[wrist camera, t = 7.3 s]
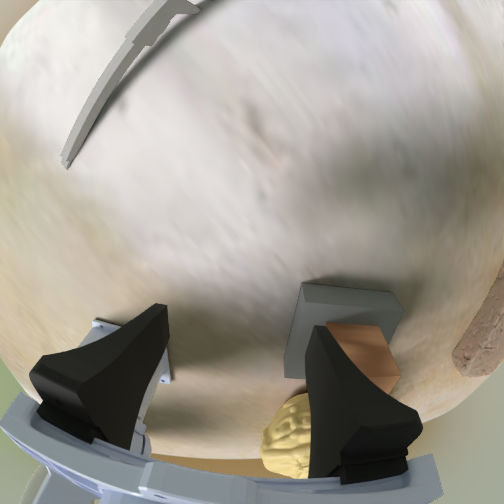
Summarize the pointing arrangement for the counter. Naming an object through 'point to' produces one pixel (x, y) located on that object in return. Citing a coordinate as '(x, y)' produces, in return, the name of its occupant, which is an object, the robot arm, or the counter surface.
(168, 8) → the caliper
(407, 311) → the counter surface
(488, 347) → the brick
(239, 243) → the counter surface
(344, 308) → the base
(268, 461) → the sculpture
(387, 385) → the block
